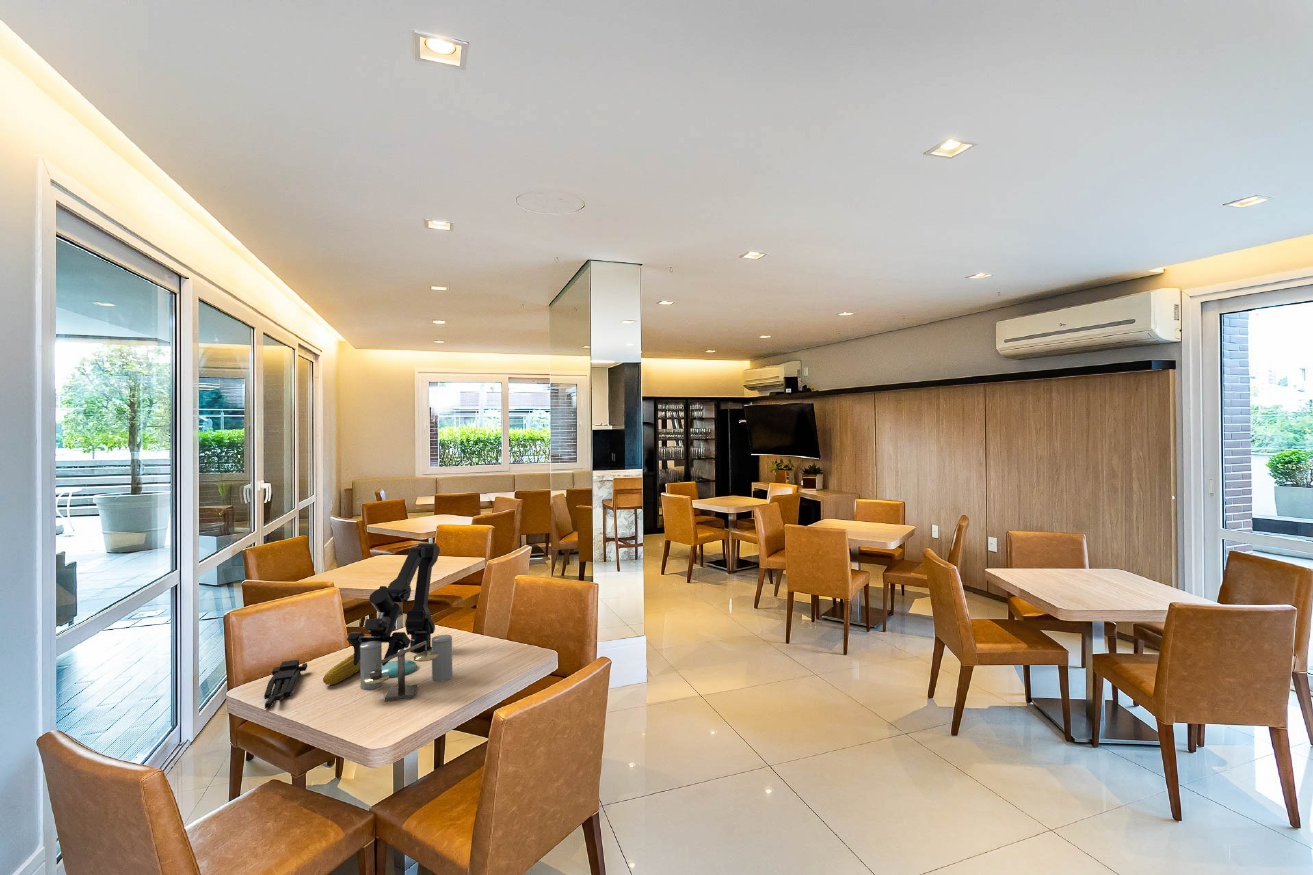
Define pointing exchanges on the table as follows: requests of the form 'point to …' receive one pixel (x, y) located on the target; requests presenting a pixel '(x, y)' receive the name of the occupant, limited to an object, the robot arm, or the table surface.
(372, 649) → the cup
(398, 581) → the robot arm
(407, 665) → the dish
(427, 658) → the balance
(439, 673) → the cup
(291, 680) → the toy
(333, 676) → the food
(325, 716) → the table surface
